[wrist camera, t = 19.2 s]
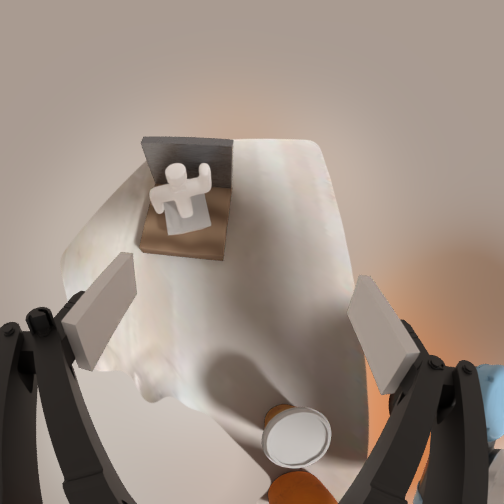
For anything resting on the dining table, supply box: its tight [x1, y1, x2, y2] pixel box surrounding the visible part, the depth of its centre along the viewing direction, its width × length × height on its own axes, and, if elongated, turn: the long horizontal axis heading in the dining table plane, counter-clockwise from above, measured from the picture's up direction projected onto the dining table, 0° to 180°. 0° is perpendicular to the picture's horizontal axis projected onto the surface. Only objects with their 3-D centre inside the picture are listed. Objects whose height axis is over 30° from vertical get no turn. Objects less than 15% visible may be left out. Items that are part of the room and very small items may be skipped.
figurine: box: [149, 163, 212, 235], centre depth 41 cm, size 7×9×15 cm
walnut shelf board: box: [139, 184, 232, 261], centre depth 50 cm, size 15×15×2 cm
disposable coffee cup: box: [262, 404, 331, 468], centre depth 34 cm, size 10×10×12 cm
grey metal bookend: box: [141, 137, 233, 189], centre depth 46 cm, size 2×15×12 cm, turn 85°
